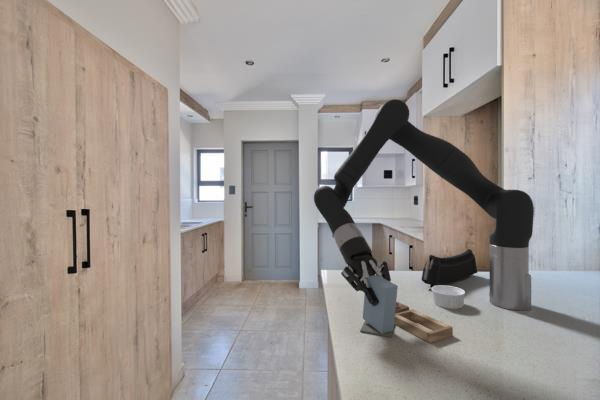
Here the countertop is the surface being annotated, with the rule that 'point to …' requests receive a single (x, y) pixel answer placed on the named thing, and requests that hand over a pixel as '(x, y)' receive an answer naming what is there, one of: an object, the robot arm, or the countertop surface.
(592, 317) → the countertop surface
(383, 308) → the blue-grey rectangular block
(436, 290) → the ramekin
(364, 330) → the pad
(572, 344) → the countertop surface
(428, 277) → the magazine
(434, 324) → the rack
